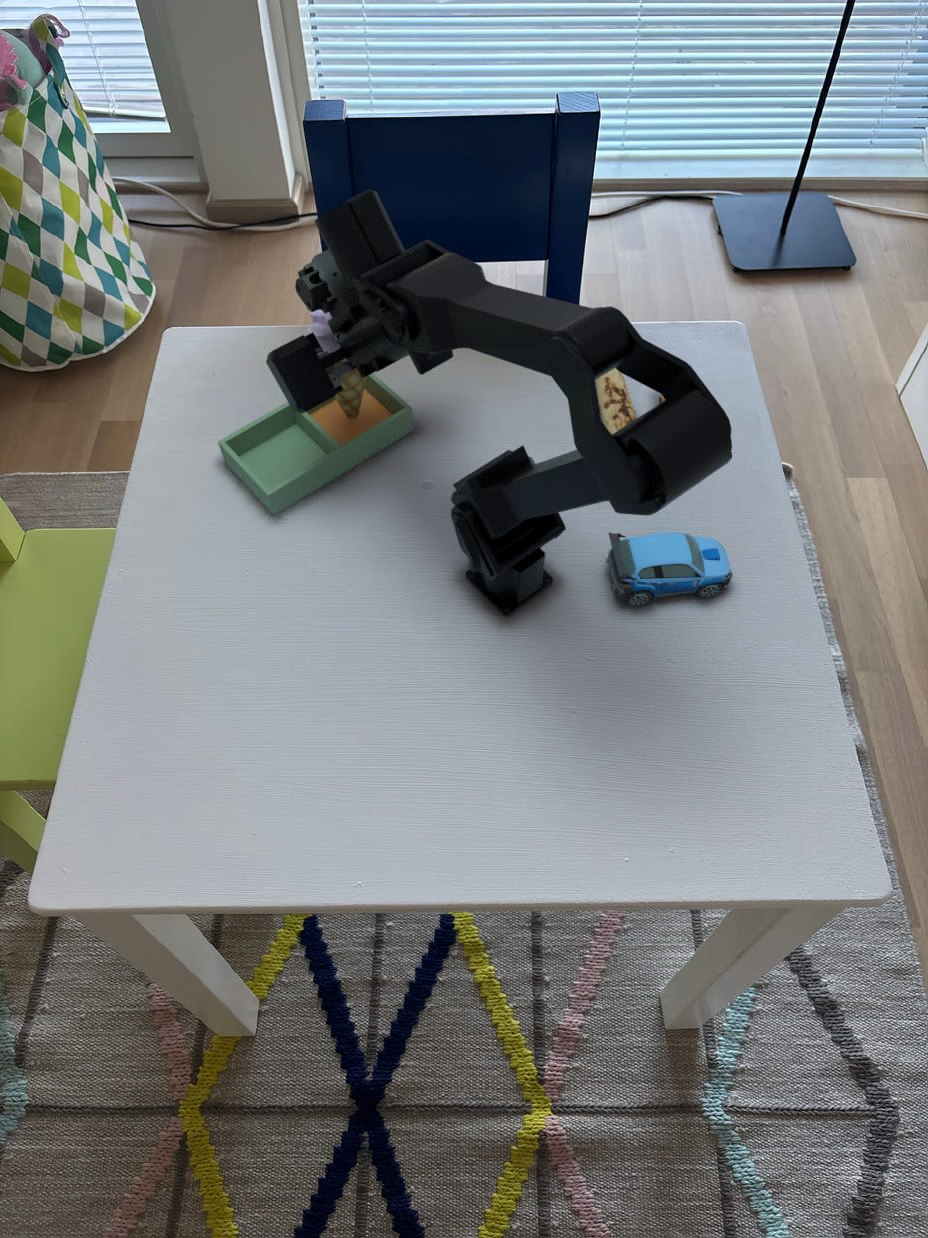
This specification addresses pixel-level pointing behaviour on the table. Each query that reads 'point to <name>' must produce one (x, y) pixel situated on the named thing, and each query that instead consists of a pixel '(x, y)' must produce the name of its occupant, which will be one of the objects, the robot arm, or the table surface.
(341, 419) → the divided tray
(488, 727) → the table surface
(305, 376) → the robot arm
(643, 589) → the toy car
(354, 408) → the ice cream cone
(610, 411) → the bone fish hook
